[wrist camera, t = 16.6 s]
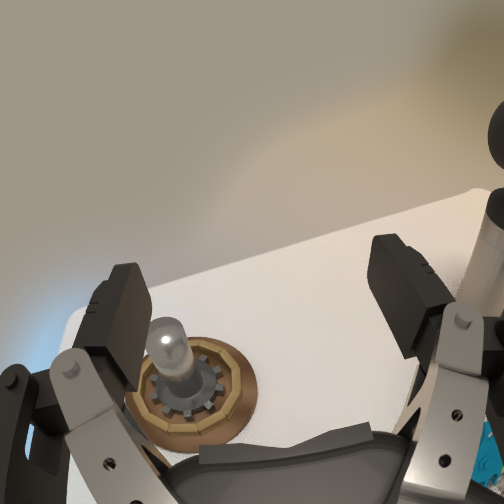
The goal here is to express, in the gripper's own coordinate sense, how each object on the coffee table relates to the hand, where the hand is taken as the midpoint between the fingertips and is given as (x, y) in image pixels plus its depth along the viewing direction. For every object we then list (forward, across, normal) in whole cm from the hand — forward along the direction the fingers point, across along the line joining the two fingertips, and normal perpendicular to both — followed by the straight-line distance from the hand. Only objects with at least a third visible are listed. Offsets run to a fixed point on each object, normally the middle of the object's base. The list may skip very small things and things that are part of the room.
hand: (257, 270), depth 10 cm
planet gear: (+12, +9, +27) cm, 31 cm away
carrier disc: (+12, +10, +28) cm, 32 cm away
